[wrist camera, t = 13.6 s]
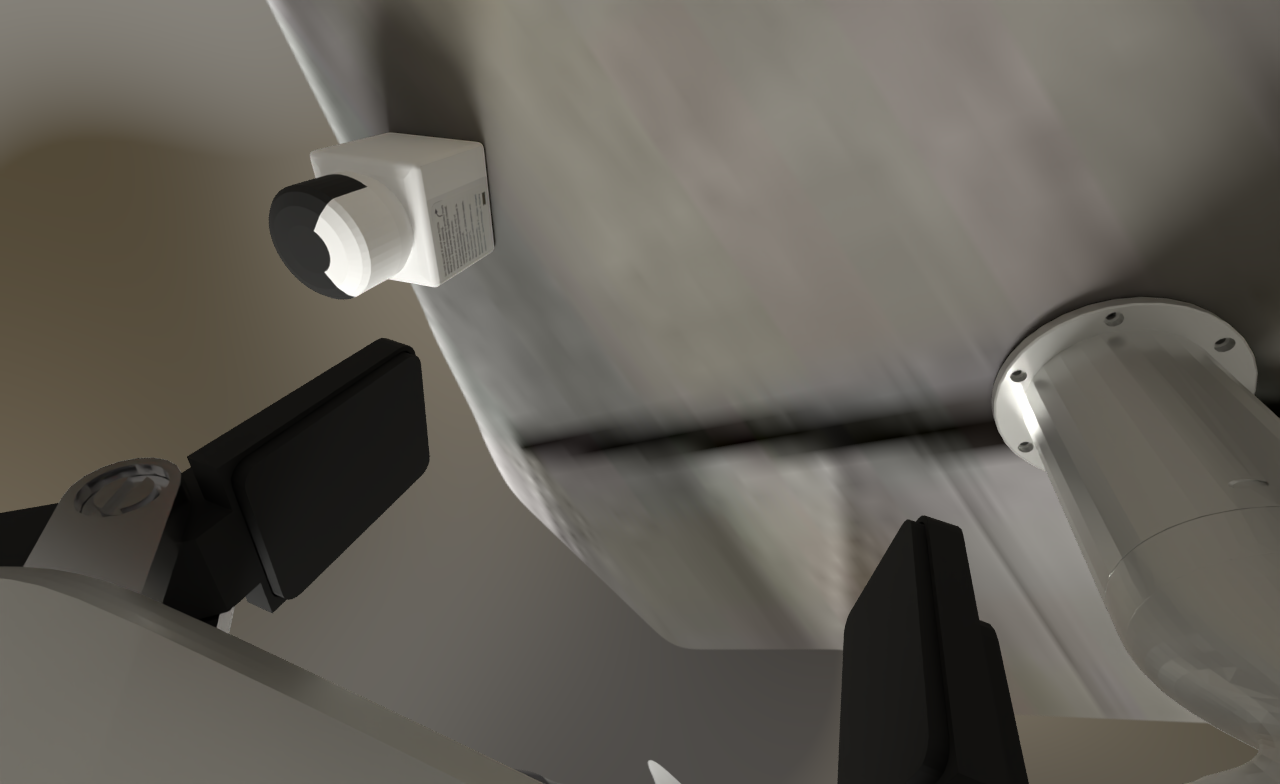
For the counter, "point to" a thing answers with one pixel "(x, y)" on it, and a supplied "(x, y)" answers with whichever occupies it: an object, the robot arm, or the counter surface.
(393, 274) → the container
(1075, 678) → the counter surface
